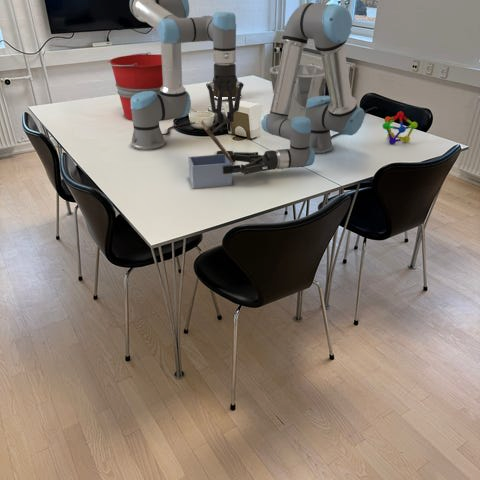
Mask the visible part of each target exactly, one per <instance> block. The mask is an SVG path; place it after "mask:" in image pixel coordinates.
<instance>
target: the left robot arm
mask: <svg viewBox="0 0 480 480" xmlns="http://www.w3.org/2000/svg"><path fill="white" fill-rule="evenodd" d="M129 9H130V12H131V14H132V16H133V17H135V19H137V20H138V21H139V22H142V23H147V24H148V25H149V26H151V27H152V28H154V29H155V30H157V33H158V38H159V40H160V55H161V57H162V77H163V85H162V87H161V88H160V94H156V92H154V91H144V92H140V93H137V94H135V95H133V96H132V97H131V110H132V118H133V120H132V125H133V132H132V135H131V147H132V148H134V149H135V150H141V151H151V150H153V151H154V150H157V149H161V148H163V147H164V146H165V144H166V140H165V137H164V136H168V135H169V134H170V130H171V129H173V128H174V129H175V128H178V127H183V126H186V125H191V124H190V122H191V121H190V122H189V121H188V122H185V123H181V124H176V125H172V126H170V127H168V128H167V132H165V133H163V132H162V130H161V127H160V122H161V121H168V120H175V119H181V118H185V117H187V116H188V115H189V113H190V111H191V107H192V102H191V101H192V99H191V95H190V93H189V92H188V91H187V90H186V87H185V86H184V85H183V67H182V65H183V63H182V44H185V43H197V42H200V43H201V42H212V43H213V62H214V64H213V79H212V81H211V82H209V83H206V84H205V86H206V88H207V91H208V95H209V102H210V108H211V111H213V112H212V113H215V114H216V121H217V122H218V124H219V125H220V124H222V123H223V114H224V113H223V112H222V106H223V101H222V97H223V92H225V91H227V95H228V100H227V103H228V111H227V112H226V116H227V117H228V119H229V120H230V122H229V124H226V126H227V127H226V130H227V131H228V133H229V132H232V123H233V122H234V114H235V113H236V112H239V109H240V103H241V97H242V90H243V88H244V86H245V84H244V83H243V81H239V80H238V81H237V79H238V78H237V79H236V77H237V71H236V70H237V65H236V62H237V58H236V57H237V56H236V53H237V52H236V51H237V19H236V14H235V13H234V12H232V11H231V12H230V11H217V12H214V13H213V15H202V16H197V17H189V16H190V3H189V0H129ZM235 84H236V87H237V89H236V96H235V99H232V89H233V87H234V86H235ZM214 85H215V86H216V87H217V89H218V99H217V100H216V99H214V93H213V88H214V87H213V86H214ZM240 96H241V97H240ZM215 100H216V101H217V102H216V101H215ZM233 100H234V101H233ZM219 131H220V133H224V125H223V126H222V127H221V128H219Z"/></svg>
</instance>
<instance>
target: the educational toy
mask: <svg viewBox="0 0 480 480" xmlns="http://www.w3.org/2000/svg"><path fill="white" fill-rule="evenodd" d="M397 119H399V124H400V125H399V127H398V126H393V125H391V124H392V123H394V122H395V121H396V120H397ZM403 120H404V121H405V122H407V123H408V124H409V125H407V126H404V123H403ZM417 127H418V122H417V121H411V120H410V119H409V118H408V117H406V116H405V113H404V112H403V111H401V110H400V111H398V112H397V114H396V115H394V116H391V117H390V116H386V117H385V118H384V122H383V123H382V129H383V130H386V132H387V138H388V142H389V145H395V144H396V143H397V142H402V141H403V142H404V143H409V142H410V140H411V138H410V136H411V134H412V132H413V131H414V130H415V129H417ZM392 129H393V130H397V131H398V132H396V134H395V133H394V132H392ZM408 129H409V131H408V133H407V134H406V135H404V136H401V134H403V133H405V132H406V130H408ZM399 135H400V136H399Z"/></svg>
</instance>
